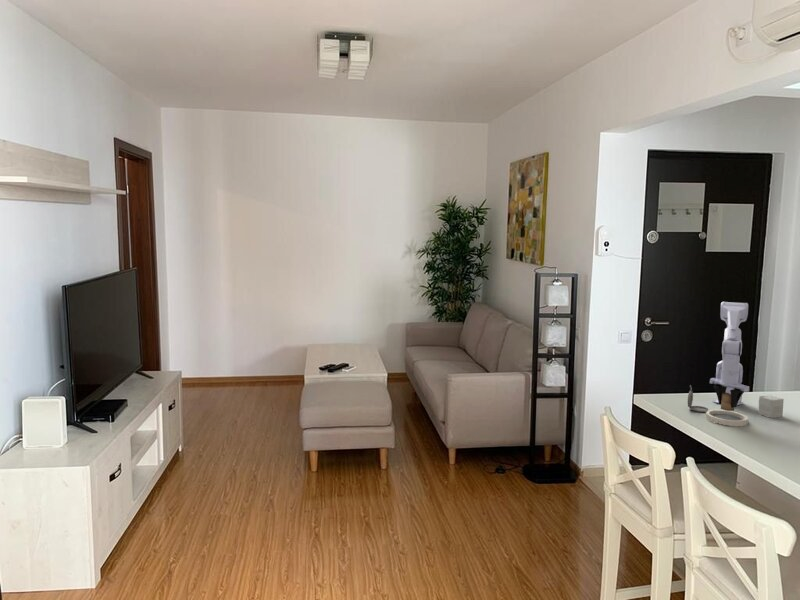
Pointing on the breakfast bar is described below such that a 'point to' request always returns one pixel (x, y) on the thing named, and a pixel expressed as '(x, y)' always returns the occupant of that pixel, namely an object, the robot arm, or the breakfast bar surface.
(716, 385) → the robot arm
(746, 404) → the breakfast bar surface
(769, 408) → the skincare box
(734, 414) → the round tray
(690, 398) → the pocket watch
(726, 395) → the walnut cylinder
